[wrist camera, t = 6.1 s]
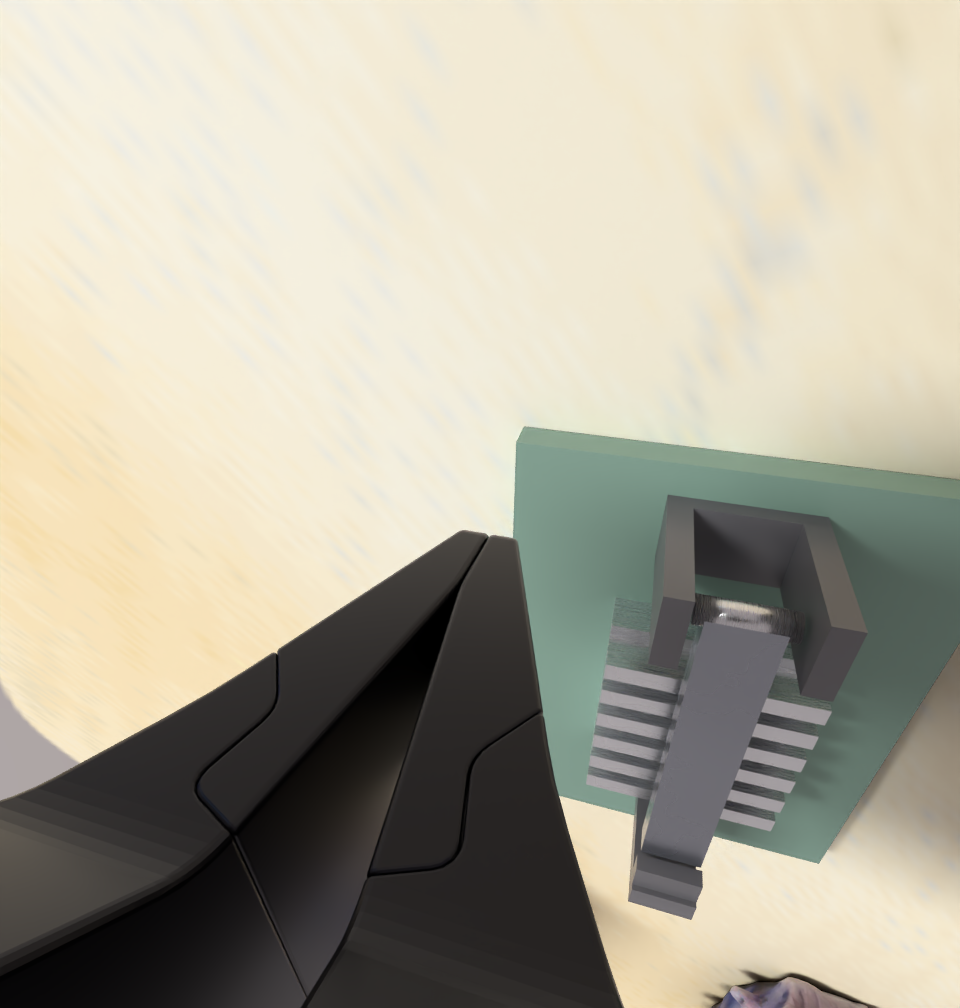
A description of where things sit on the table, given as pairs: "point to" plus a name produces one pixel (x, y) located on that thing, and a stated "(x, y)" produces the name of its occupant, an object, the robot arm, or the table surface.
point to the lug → (661, 876)
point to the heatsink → (648, 713)
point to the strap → (714, 720)
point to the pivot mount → (758, 581)
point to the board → (735, 597)
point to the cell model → (783, 996)
